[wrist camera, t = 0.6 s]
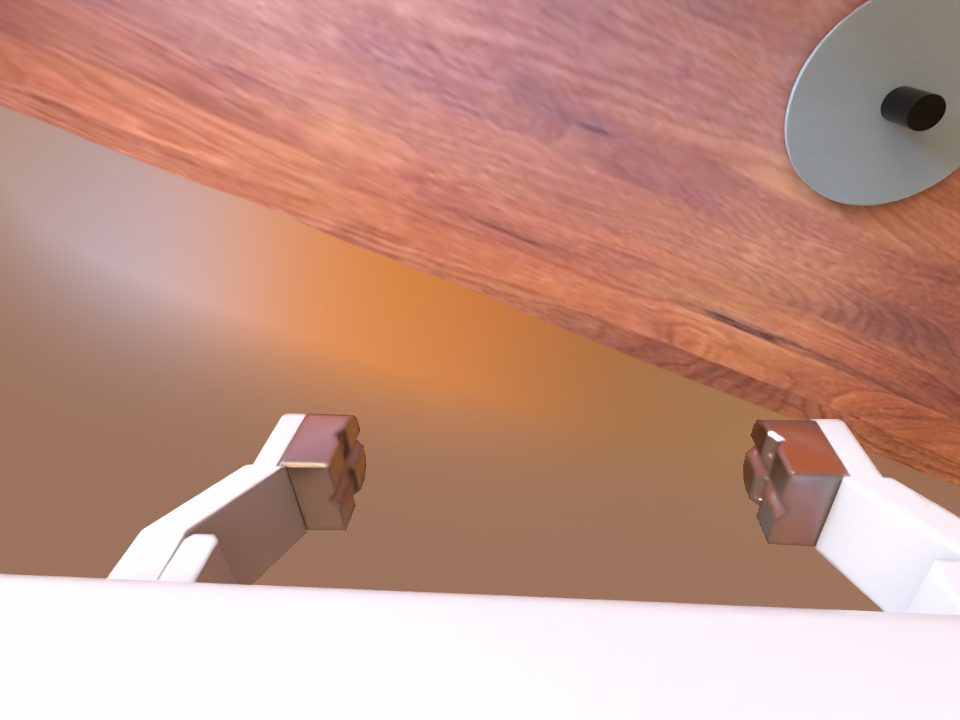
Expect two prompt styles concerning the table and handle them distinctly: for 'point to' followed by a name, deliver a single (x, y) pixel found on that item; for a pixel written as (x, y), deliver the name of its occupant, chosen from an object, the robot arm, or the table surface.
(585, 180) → the table surface
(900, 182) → the pan lid
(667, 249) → the table surface
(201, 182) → the table surface
